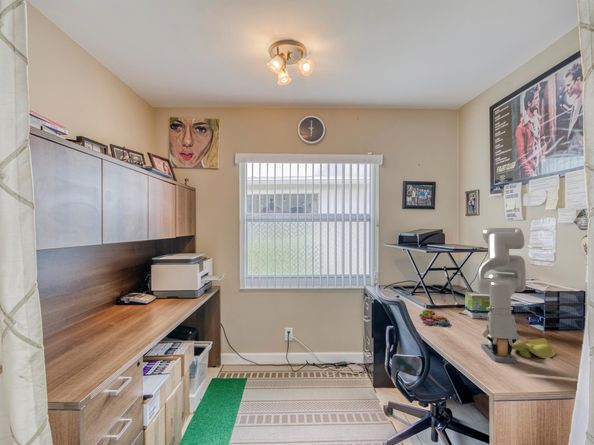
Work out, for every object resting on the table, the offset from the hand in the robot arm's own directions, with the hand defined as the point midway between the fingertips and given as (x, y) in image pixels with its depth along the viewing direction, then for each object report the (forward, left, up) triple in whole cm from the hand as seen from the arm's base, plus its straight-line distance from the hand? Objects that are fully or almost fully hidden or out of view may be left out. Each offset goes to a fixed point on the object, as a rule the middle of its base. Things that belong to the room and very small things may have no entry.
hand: (501, 352), depth 126 cm
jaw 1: (0, 0, -1) cm, 1 cm away
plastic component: (-10, +15, -4) cm, 18 cm away
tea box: (-68, +14, -4) cm, 69 cm away
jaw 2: (-8, 0, -2) cm, 8 cm away
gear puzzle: (-57, -16, -4) cm, 60 cm away
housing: (-4, 0, -3) cm, 5 cm away
